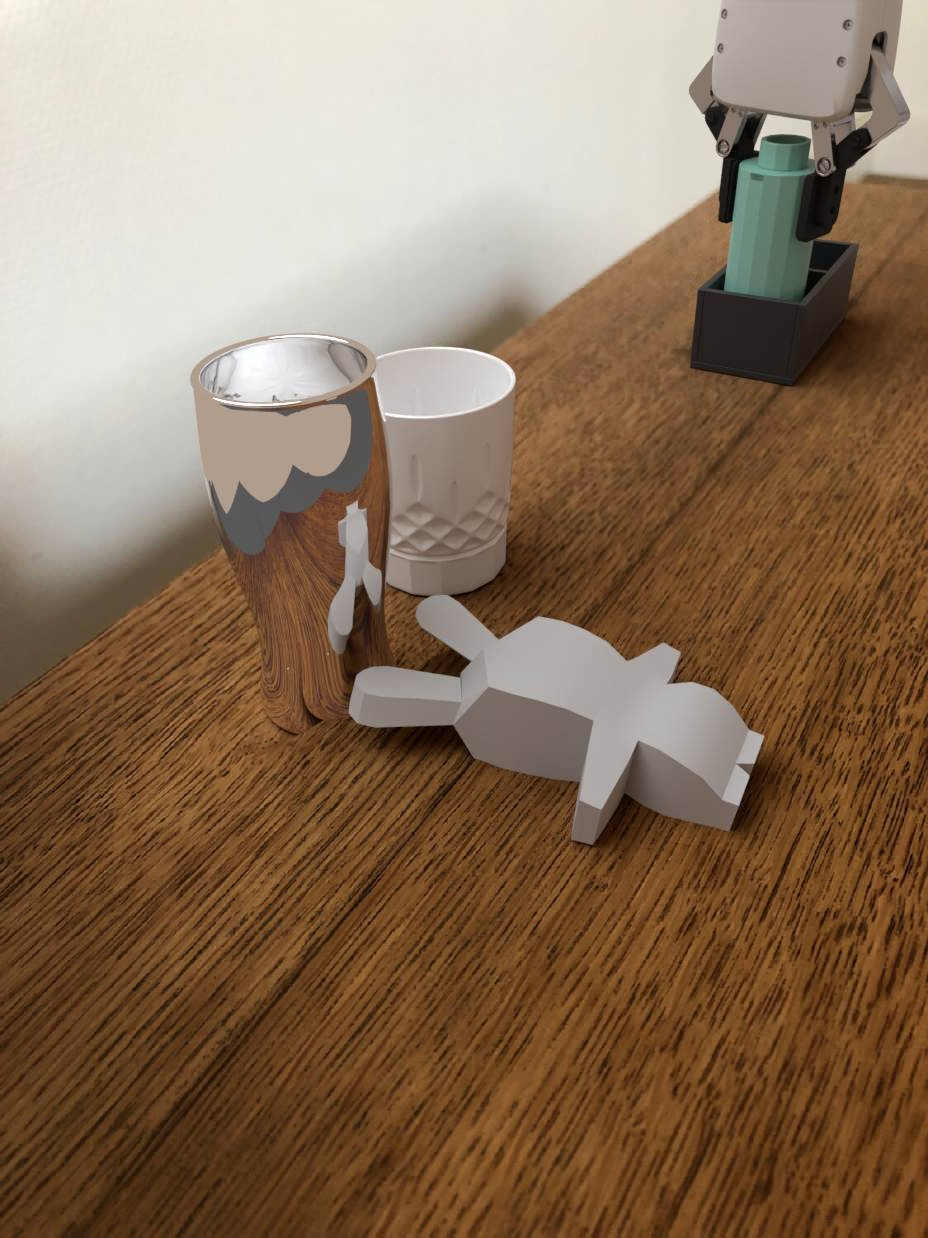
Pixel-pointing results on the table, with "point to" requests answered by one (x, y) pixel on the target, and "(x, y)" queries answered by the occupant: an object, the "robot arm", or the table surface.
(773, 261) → the bottle
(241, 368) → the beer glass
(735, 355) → the holder
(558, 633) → the bunny figurine
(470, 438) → the white cup
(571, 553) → the table surface
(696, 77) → the robot arm
